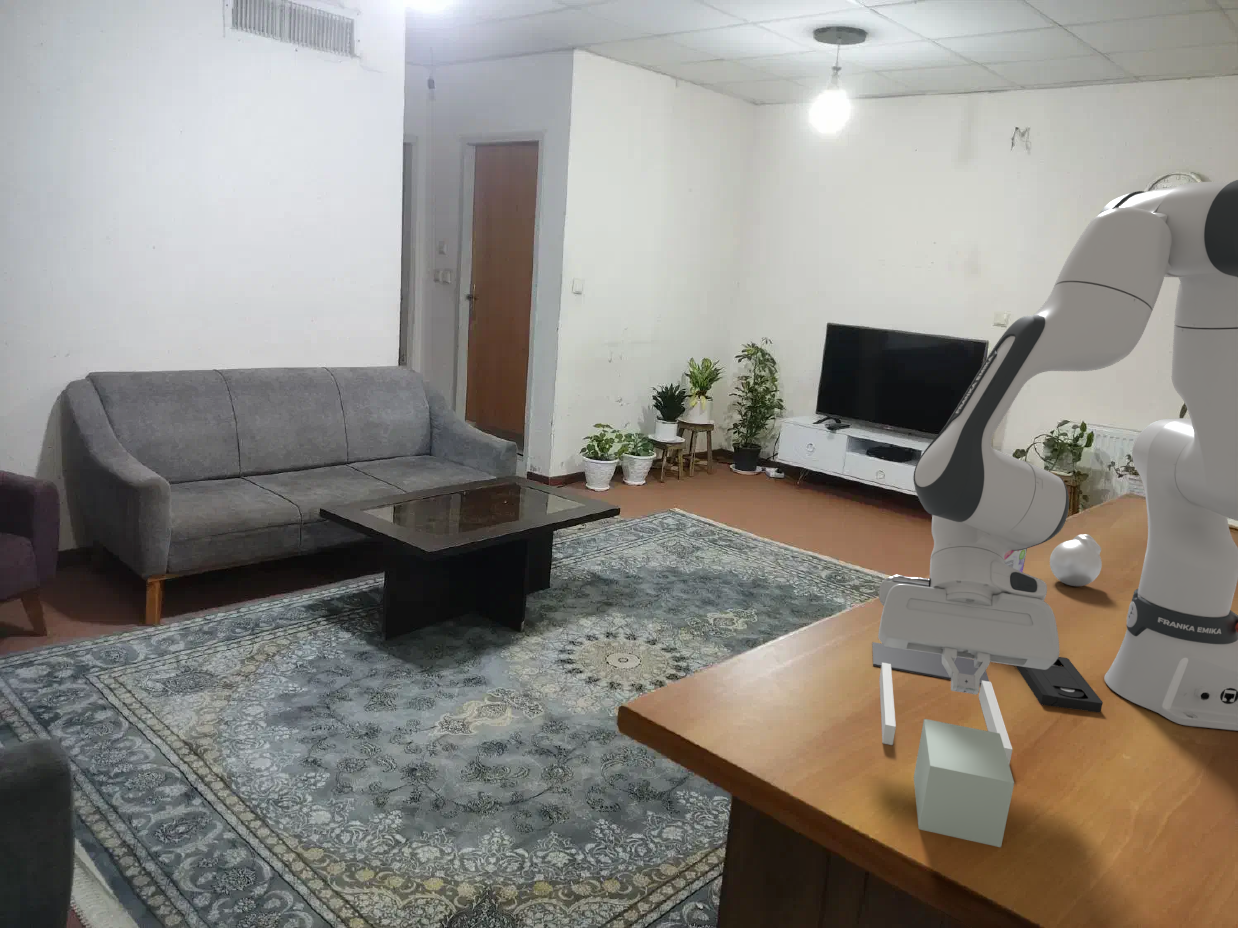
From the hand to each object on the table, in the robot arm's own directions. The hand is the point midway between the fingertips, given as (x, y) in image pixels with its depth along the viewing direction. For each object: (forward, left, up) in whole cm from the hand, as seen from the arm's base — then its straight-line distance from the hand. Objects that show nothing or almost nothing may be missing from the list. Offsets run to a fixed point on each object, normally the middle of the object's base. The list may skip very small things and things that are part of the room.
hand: (964, 691), depth 104 cm
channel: (+1, -15, -9) cm, 18 cm away
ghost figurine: (-29, -76, -9) cm, 82 cm away
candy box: (-10, -54, -9) cm, 56 cm away
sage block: (+1, +11, -9) cm, 14 cm away
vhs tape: (-16, -27, -9) cm, 33 cm away
